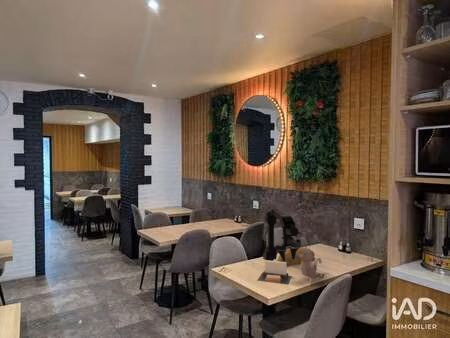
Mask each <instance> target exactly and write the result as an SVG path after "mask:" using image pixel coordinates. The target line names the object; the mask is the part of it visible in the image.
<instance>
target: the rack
mask: <svg viewBox="0 0 450 338" xmlns="http://www.w3.org/2000/svg"><path fill="white" fill-rule="evenodd" d="M267 275H278V276H280V278H282V281H281V284H280V283H278V284H280V285H286V286H287V285H288V286H289V285H290V282H291V279H292V275H289V272H286V275H282V274H274V273H266V272H265V269H264V271H263V272H262V273H261V274H260V276H259V277H258V278H257V280H256V281H259V282H264V283H266V282H265V278H266V276H267ZM270 283H272V282H270Z"/></svg>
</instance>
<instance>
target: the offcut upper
mask: <svg viewBox="0 0 450 338" xmlns="http://www.w3.org/2000/svg"><path fill="white" fill-rule="evenodd" d="M266 280H277V281H280V276H278V275H267V277H266Z"/></svg>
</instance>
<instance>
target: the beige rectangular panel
mask: <svg viewBox="0 0 450 338" xmlns="http://www.w3.org/2000/svg"><path fill="white" fill-rule="evenodd" d="M287 267H288V266H287V262H278V261H276V260H273V261H269V260H264V270H265V272H266V273H274V274H282V275H286V273H288V272H287V270H288V269H287Z"/></svg>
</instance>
